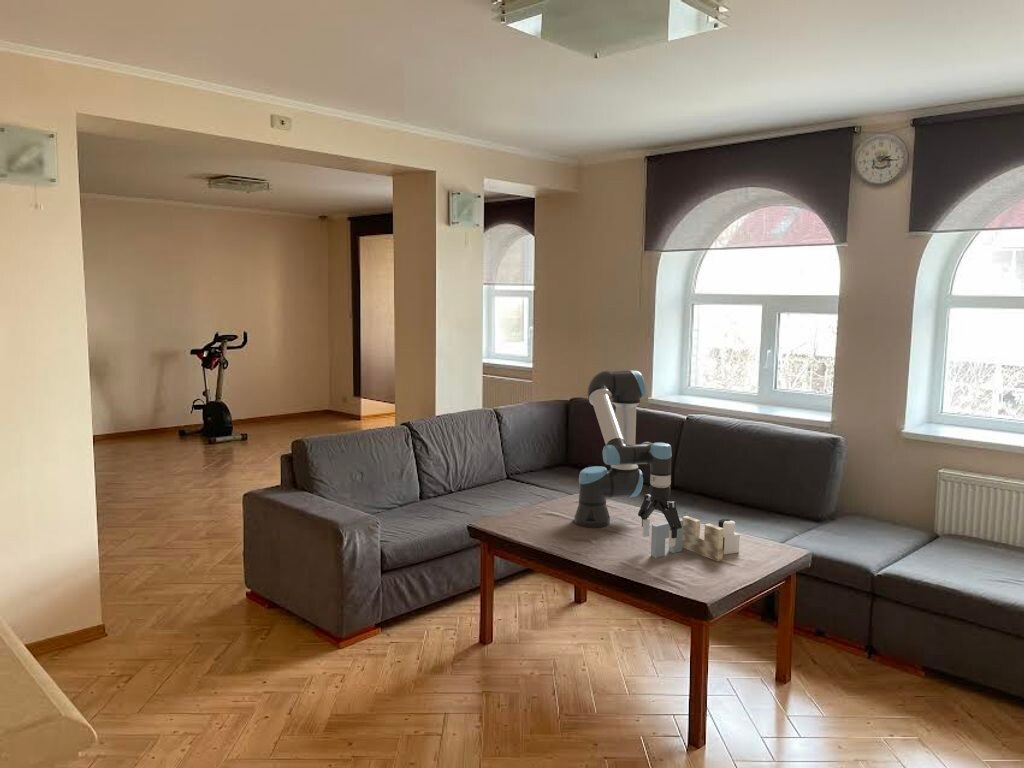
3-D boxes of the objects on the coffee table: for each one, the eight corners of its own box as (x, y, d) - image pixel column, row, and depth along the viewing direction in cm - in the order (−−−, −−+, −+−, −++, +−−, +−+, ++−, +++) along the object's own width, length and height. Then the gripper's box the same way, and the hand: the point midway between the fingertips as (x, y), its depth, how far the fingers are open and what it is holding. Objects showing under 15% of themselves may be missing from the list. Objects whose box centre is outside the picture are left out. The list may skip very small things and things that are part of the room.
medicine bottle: (712, 548, 283) (713, 518, 282) (727, 546, 286) (728, 516, 284) (723, 555, 277) (724, 524, 275) (739, 552, 279) (740, 522, 278)
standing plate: (681, 546, 285) (682, 516, 284) (685, 545, 287) (686, 515, 285) (717, 561, 270) (719, 529, 269) (722, 560, 272) (723, 528, 270)
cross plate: (655, 557, 273) (656, 526, 272) (650, 555, 275) (651, 524, 274) (682, 550, 281) (683, 520, 280) (677, 548, 283) (678, 518, 281)
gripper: (629, 479, 281) (628, 533, 283) (677, 494, 260) (676, 552, 262) (644, 477, 285) (642, 530, 287) (692, 491, 264) (690, 548, 266)
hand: (658, 541), depth 275 cm, fingers open, 13 cm apart
